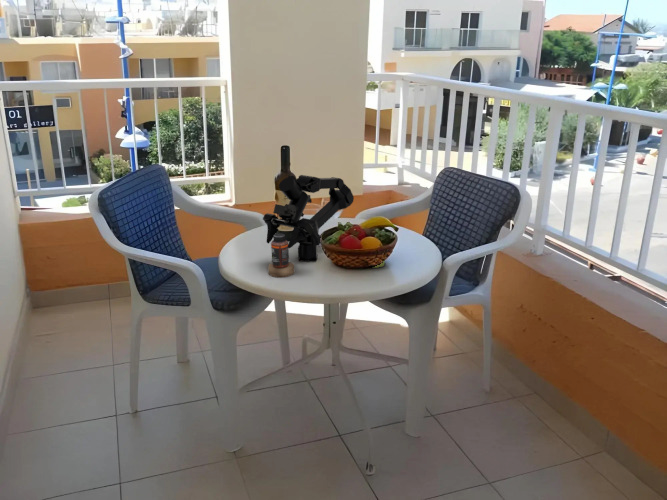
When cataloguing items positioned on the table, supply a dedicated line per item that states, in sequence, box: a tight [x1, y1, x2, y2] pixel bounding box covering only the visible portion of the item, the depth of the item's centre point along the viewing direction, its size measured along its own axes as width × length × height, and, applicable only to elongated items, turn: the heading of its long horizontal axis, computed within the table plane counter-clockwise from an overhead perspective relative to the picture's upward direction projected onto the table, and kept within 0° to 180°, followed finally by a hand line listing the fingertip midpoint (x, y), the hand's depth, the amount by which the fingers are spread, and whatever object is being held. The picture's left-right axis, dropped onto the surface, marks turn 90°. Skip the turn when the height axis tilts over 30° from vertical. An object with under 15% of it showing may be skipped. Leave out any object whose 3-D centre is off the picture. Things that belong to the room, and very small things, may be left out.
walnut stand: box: [268, 261, 295, 278], centre depth 203 cm, size 9×9×2 cm
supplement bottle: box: [270, 232, 290, 268], centre depth 201 cm, size 6×6×11 cm
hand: (277, 245), depth 199 cm, fingers open, 9 cm apart
